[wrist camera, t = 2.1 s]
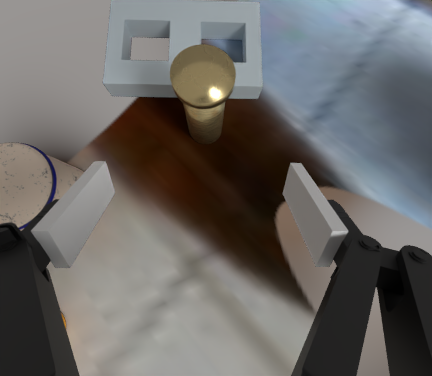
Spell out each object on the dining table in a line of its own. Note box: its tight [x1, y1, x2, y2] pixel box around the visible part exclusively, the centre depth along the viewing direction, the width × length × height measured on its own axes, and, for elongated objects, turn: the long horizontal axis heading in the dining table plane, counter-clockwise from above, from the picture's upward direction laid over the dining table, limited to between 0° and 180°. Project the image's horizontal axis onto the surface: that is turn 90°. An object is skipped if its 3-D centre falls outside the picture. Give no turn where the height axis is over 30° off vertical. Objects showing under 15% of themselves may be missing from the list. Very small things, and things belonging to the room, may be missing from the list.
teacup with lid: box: [0, 143, 84, 230], centre depth 24 cm, size 12×9×12 cm
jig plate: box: [103, 0, 263, 99], centre depth 33 cm, size 22×14×3 cm, turn 90°
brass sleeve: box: [170, 44, 236, 144], centre depth 26 cm, size 6×6×12 cm
